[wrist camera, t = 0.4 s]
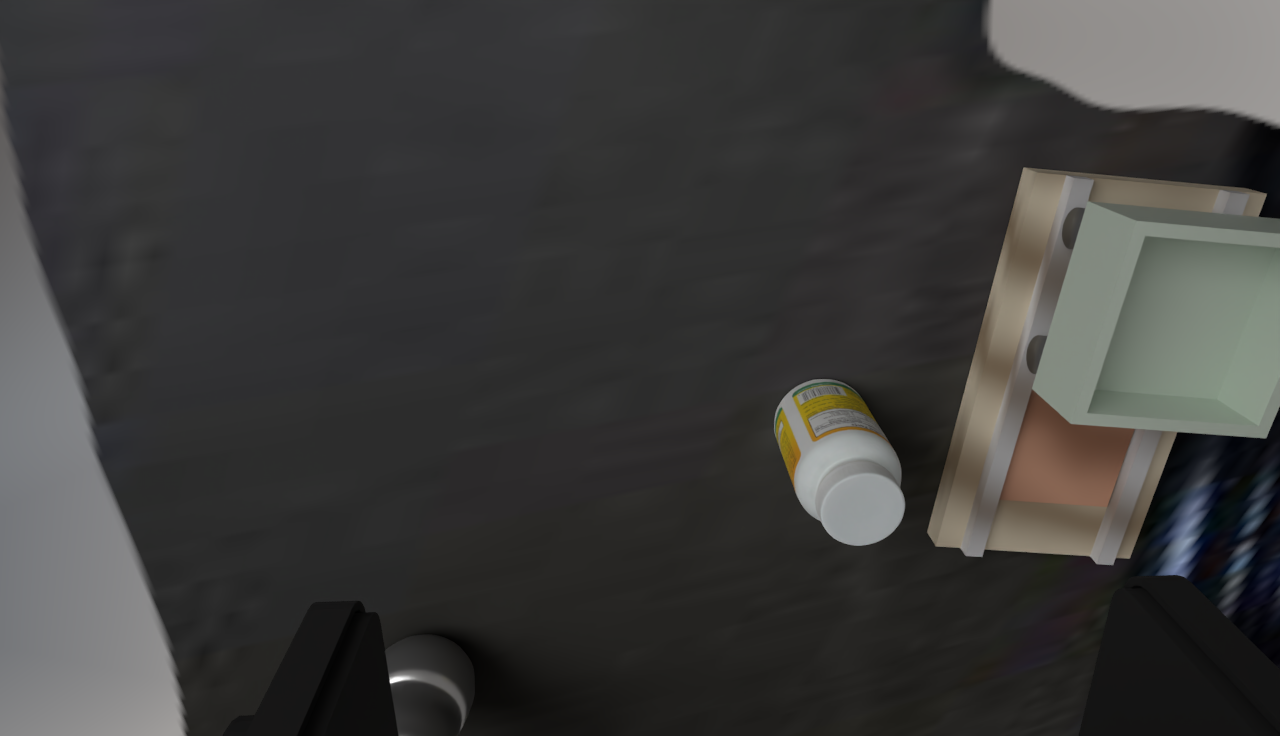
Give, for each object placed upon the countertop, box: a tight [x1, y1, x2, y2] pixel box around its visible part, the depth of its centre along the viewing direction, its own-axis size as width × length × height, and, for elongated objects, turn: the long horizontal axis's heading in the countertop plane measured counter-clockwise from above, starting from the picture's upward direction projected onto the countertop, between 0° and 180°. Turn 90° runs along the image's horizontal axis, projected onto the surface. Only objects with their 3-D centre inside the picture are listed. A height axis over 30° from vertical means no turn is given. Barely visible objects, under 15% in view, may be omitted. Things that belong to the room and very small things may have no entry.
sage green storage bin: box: [1026, 201, 1280, 438], centre depth 41 cm, size 10×10×6 cm
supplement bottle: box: [774, 379, 905, 546], centre depth 44 cm, size 5×5×10 cm
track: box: [927, 167, 1267, 565], centre depth 47 cm, size 22×12×2 cm, turn 175°
